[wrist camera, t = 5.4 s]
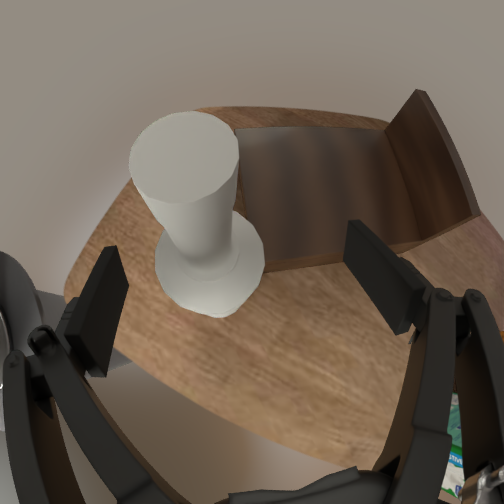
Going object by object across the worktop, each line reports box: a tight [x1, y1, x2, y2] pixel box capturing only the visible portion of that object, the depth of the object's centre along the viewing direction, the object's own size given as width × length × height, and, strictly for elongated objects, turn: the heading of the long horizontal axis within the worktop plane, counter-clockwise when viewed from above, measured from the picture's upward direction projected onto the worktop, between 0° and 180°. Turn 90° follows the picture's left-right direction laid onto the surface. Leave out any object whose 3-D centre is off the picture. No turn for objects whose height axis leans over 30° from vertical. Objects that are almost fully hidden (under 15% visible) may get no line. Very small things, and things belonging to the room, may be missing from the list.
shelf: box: [234, 89, 481, 273], centre depth 26 cm, size 20×14×14 cm
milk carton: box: [441, 392, 465, 498], centre depth 14 cm, size 9×9×25 cm
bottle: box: [128, 111, 265, 318], centre depth 17 cm, size 5×5×25 cm
